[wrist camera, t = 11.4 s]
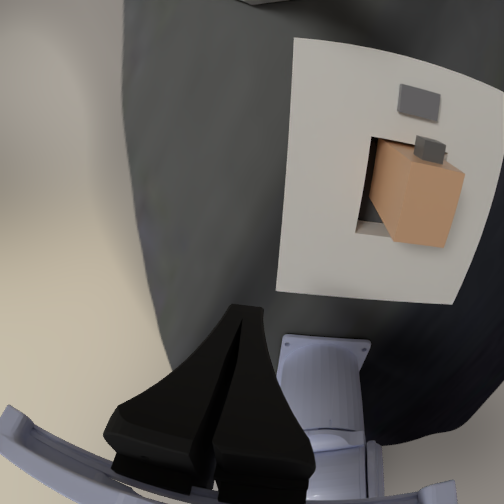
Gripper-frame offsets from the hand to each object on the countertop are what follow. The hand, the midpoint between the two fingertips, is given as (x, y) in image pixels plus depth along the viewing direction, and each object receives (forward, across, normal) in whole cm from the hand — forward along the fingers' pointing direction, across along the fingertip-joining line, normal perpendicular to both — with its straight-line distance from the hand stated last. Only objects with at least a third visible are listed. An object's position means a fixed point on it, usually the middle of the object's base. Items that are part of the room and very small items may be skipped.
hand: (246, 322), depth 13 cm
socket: (+9, -8, -4) cm, 13 cm away
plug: (+10, -8, -5) cm, 13 cm away
